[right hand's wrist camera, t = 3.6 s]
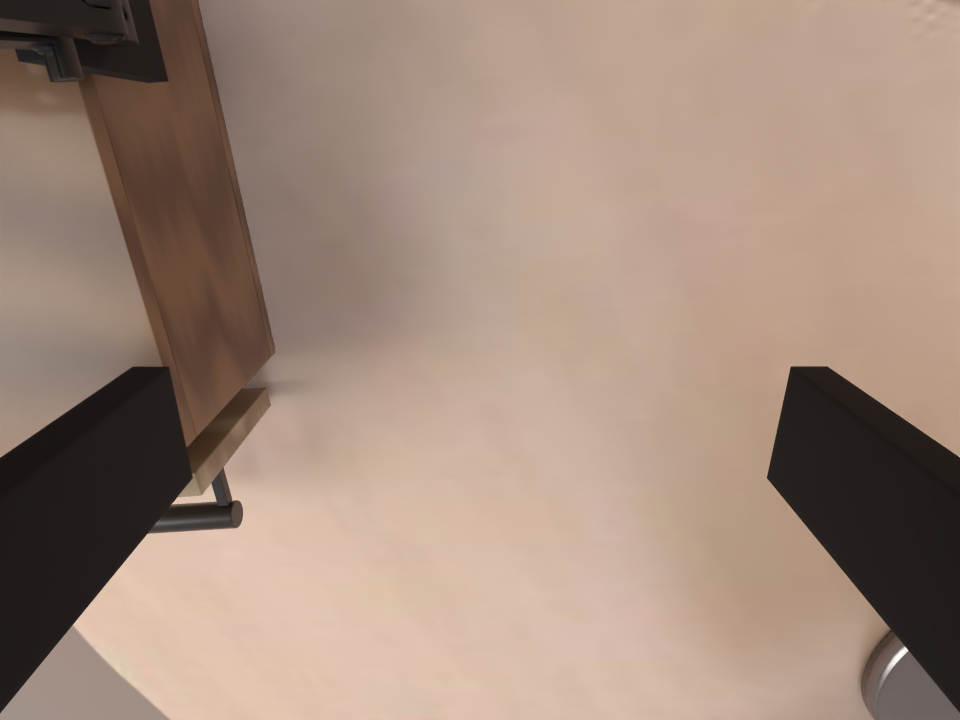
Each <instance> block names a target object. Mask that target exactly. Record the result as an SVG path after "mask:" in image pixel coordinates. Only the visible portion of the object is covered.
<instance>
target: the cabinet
mask: <svg viewBox="0 0 960 720" xmlns="http://www.w3.org/2000/svg"><path fill="white" fill-rule="evenodd" d="M149 2H150V6H151V10H152V14H153V18H154V22H155V26H156V31H157V35H158V39H159V43H160V47H161V51H162V55H163V59H164V63H165V68H166V72H167V76H168V80H169V81H168V82H156V83H145V82H139V81H133V80H127V79H121V78H115V77H109V76H103V75H97V74H91V73H85V72H83V75H84V78H85V79H84V80H81V81H75V82H52V83H50V80H49V77H48V73H47V70H46V67H45V66H43V65H37V64H31V63H25V62H19V61H18V58H17V55H16V52H15V49H0V457H2V456H3V455H5V454H6V453H8V452H9V451H11V450H12V449H13V448H15V447H16V446H18V445H19V444H21V443H22V442H24V441H25V440H27V439H28V438H30V437H31V436H32V435H34V434H35V433H37V432H38V431H40V430H41V429H43V428H44V427H46V426H47V425H48V424H50V423H51V422H53V421H54V420H56V419H57V418H59V417H60V416H62V415H63V414H64V413H66V412H67V411H69V410H70V409H72V408H73V407H75V406H76V405H78V404H79V403H80V402H82V401H83V400H85V399H86V398H88V397H89V396H91V395H92V394H94V393H95V392H96V391H98V390H99V389H101V388H102V387H104V386H105V385H107V384H108V383H110V382H111V381H112V380H114V379H115V378H117V377H118V376H120V375H121V374H123V373H124V372H126V371H127V370H128V369H130V368H131V367H169V368H170V373H171V378H172V382H173V387H174V392H175V396H176V401H177V406H178V410H179V415H180V420H181V424H182V429H183V434H184V438H185V443H186V447H187V446H189V445H190V444H191V443H192V441H193V440H194V439H195V438H196V437H197V436H198V435H199V434H200V433H201V432H202V431H203V429H204V428H205V427H206V426H207V425H208V424H209V423H210V422H211V421H212V420H213V419H214V418H215V417H216V415H217V414H218V413H219V412H220V411H221V410H222V409H223V408H224V407H225V406H226V405H227V404H228V403H229V401H230V400H231V399H232V398H233V397H234V396H235V395H236V394H237V393H238V392H239V391H240V390H241V389H242V387H243V386H244V385H245V384H246V383H247V382H248V381H249V380H250V379H251V378H252V377H253V376H254V375H255V373H256V372H257V371H258V370H259V369H260V368H261V367H262V366H263V365H264V364H265V363H266V362H267V361H268V360H269V358H270V357H271V356H272V355H273V354H274V353H275V348H274V344H273V339H272V335H271V330H270V326H269V321H268V317H267V312H266V308H265V303H264V299H263V294H262V290H261V285H260V281H259V276H258V272H257V267H256V263H255V258H254V254H253V249H252V245H251V240H250V236H249V231H248V227H247V222H246V218H245V213H244V209H243V204H242V200H241V195H240V191H239V186H238V181H237V177H236V172H235V168H234V163H233V159H232V154H231V150H230V145H229V141H228V136H227V132H226V127H225V123H224V118H223V114H222V109H221V105H220V100H219V96H218V91H217V87H216V82H215V78H214V73H213V69H212V64H211V60H210V55H209V51H208V46H207V42H206V37H205V33H204V28H203V24H202V19H201V15H200V10H199V6H198V1H197V0H149Z"/></svg>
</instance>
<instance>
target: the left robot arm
mask: <svg viewBox="0 0 960 720" xmlns="http://www.w3.org/2000/svg"><path fill="white" fill-rule="evenodd" d="M0 49H15V52H16V55H17V58H18V61H19V62H25V63H31V64H37V65H43V66H45V67H46V70H47V73H48V77H49V80H50V83H52V82H75V81H81V80H84V79H85V78H84V75H83V72H85V73H91V74H97V75H103V76H109V77H115V78H121V79H127V80H133V81H139V82H145V83H156V82H168V81H169V80H168V76H167V72H166V68H165V63H164V59H163V55H162V51H161V47H160V43H159V39H158V35H157V31H156V26H155V22H154V18H153V14H152V10H151V6H150V2H149V0H0Z"/></svg>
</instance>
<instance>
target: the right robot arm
mask: <svg viewBox="0 0 960 720" xmlns="http://www.w3.org/2000/svg"><path fill="white" fill-rule="evenodd" d="M192 479H193V476H192V471H191V466H190V462H189V457H188V452H187V448H186V443H185V438H184V434H183V429H182V424H181V420H180V415H179V410H178V406H177V401H176V396H175V392H174V387H173V382H172V378H171V373H170V368H169V367H131V368H130V369H128V370H127V371H126V372H124V373H123V374H121V375H120V376H118V377H117V378H115V379H114V380H112V381H111V382H110V383H108V384H107V385H105V386H104V387H102V388H101V389H99V390H98V391H96V392H95V393H94V394H92V395H91V396H89V397H88V398H86V399H85V400H83V401H82V402H80V403H79V404H78V405H76V406H75V407H73V408H72V409H70V410H69V411H67V412H66V413H64V414H63V415H62V416H60V417H59V418H57V419H56V420H54V421H53V422H51V423H50V424H48V425H47V426H46V427H44V428H43V429H41V430H40V431H38V432H37V433H35V434H34V435H32V436H31V437H30V438H28V439H27V440H25V441H24V442H22V443H21V444H19V445H18V446H16V447H15V448H13V449H12V450H11V451H9V452H8V453H6V454H5V455H3V456H2V457H0V713H1V712H2V710H3V709H4V708H5V707H6V705H7V704H8V703H9V702H10V701H11V699H12V698H13V697H14V696H15V695H16V693H17V692H18V691H19V690H20V688H21V687H22V686H23V685H24V683H25V682H26V681H27V680H28V679H29V677H30V676H31V675H32V674H33V673H34V671H35V670H36V669H37V668H38V666H39V665H40V664H41V663H42V662H43V660H44V659H45V658H46V657H47V655H48V654H49V653H50V652H51V651H52V649H53V648H54V647H55V646H56V644H57V643H58V642H59V641H60V640H61V638H62V637H63V636H64V635H65V634H66V632H67V631H68V630H69V629H70V627H71V626H72V625H73V624H74V623H75V621H76V620H77V619H78V618H79V616H80V615H81V614H82V613H83V612H84V610H85V609H86V608H87V607H88V605H89V604H90V603H91V602H92V601H93V599H94V598H95V597H96V596H97V594H98V593H99V592H100V591H101V590H102V588H103V587H104V586H105V585H106V584H107V582H108V581H109V580H110V579H111V577H112V576H113V575H114V574H115V573H116V571H117V570H118V569H119V568H120V566H121V565H122V564H123V563H124V562H125V560H126V559H127V558H128V557H129V555H130V554H131V553H132V552H133V551H134V549H135V548H136V547H137V546H138V544H139V543H140V542H141V541H142V540H143V538H144V537H145V536H146V535H147V533H148V532H149V531H150V530H151V529H152V527H153V526H154V525H155V524H156V523H157V521H158V520H159V519H160V518H161V516H162V515H163V514H164V513H165V512H166V510H167V509H168V508H169V507H170V505H171V504H172V503H173V502H174V501H175V499H176V498H177V497H178V496H179V494H180V493H181V492H182V491H183V490H184V488H185V487H186V486H187V485H188V483H189V482H190V481H191V480H192ZM767 479H768V480H769V481H770V482H771V483H772V485H773V486H774V487H775V488H776V490H777V491H778V492H779V493H780V494H781V496H782V497H783V498H784V499H785V501H786V502H787V503H788V504H789V505H790V507H791V508H792V509H793V510H794V512H795V513H796V514H797V515H798V516H799V518H800V519H801V520H802V521H803V523H804V524H805V525H806V526H807V527H808V529H809V530H810V531H811V532H812V533H813V535H814V536H815V537H816V538H817V540H818V541H819V542H820V543H821V544H822V546H823V547H824V548H825V549H826V551H827V552H828V553H829V554H830V555H831V557H832V558H833V559H834V560H835V562H836V563H837V564H838V565H839V566H840V568H841V569H842V570H843V571H844V573H845V574H846V575H847V576H848V577H849V579H850V580H851V581H852V582H853V584H854V585H855V586H856V587H857V588H858V590H859V591H860V592H861V593H862V594H863V596H864V597H865V598H866V599H867V601H868V602H869V603H870V604H871V605H872V607H873V608H874V609H875V610H876V612H877V613H878V614H879V615H880V616H881V618H882V619H883V620H884V621H885V623H886V624H887V625H888V626H889V627H890V629H891V630H892V631H891V632H890V633H889V634H888V635H887V636H886V637H885V638H884V639H883V640H882V641H881V643H880V644H879V645H878V646H877V648H876V649H875V651H874V652H873V654H872V655H871V657H870V659H869V661H868V663H867V665H866V668H865V671H864V674H863V679H862V695H863V699H864V702H865V705H866V707H867V709H868V711H869V712H870V714H871V715H872V717H873V718H874V720H960V457H958V456H957V455H955V454H954V453H952V452H951V451H949V450H948V449H947V448H945V447H944V446H942V445H941V444H939V443H938V442H936V441H935V440H933V439H932V438H930V437H929V436H928V435H926V434H925V433H923V432H922V431H920V430H919V429H917V428H916V427H914V426H913V425H912V424H910V423H909V422H907V421H906V420H904V419H903V418H901V417H900V416H898V415H897V414H896V413H894V412H893V411H891V410H890V409H888V408H887V407H885V406H884V405H882V404H881V403H880V402H878V401H877V400H875V399H874V398H872V397H871V396H869V395H868V394H866V393H865V392H864V391H862V390H861V389H859V388H858V387H856V386H855V385H853V384H852V383H850V382H849V381H848V380H846V379H845V378H843V377H842V376H840V375H839V374H837V373H836V372H834V371H833V370H832V369H830V368H829V367H791V368H790V373H789V378H788V382H787V387H786V392H785V396H784V401H783V406H782V410H781V415H780V420H779V424H778V429H777V434H776V438H775V443H774V448H773V452H772V457H771V462H770V466H769V471H768V476H767Z"/></svg>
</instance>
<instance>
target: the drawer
mask: <svg viewBox="0 0 960 720" xmlns="http://www.w3.org/2000/svg"><path fill="white" fill-rule="evenodd" d="M270 405H271V404H270V400H269V396H268V391H267V388H254V389H241V390H240V391H239V392H238V393H237V394H236V395H235V396H234V397H233V398H232V399H231V400H230V401H229V403H228V404H227V405H226V406H225V407H224V408H223V409H222V410H221V411H220V412H219V413H218V414H217V415H216V417H215V418H214V419H213V420H212V421H211V422H210V423H209V424H208V425H207V426H206V427H205V428H204V429H203V431H202V432H201V433H200V434H199V435H198V436H197V437H196V438H195V439H194V440H193V441H192V443H191V444H190V445H189V446H187V447H186V448H187V452H188V457H189V462H190V466H191V471H192V476H193V479H192V480H191V481H190V482H189V483H188V485H187V486H186V487H185V488H184V490H183V491H182V492H181V493H180V494H179V496H178V497H186V496H201V495H202V494H203V493H204V492H205V490H206V489H207V488H208V486H209V485H210V484H211V483H212V486H213V490H214V493H215V497H216V500H217V502H204V503H189V504H173V505H170V507H169V508H168V509H167V510H166V512H165V513H164V514H163V515H162V516H161V518H160V519H159V520H158V521H157V523H156V524H155V525H154V526H153V527H152V529H151V530H150V531H149V532H148V533H147V534H150V533H166V532H182V531H198V530H214V529H229V528H237V527H239V526H240V524H241V522H242V518H243V508H242V504H241V502H240V501H238V500H235V501H232V497H231V493H230V490H229V486H228V483H227V479H226V475H225V472H224V468H223V467H224V466H225V464H226V463H227V462H228V460H229V459H230V458H231V456H232V455H233V454H234V453H235V451H236V450H237V449H238V447H239V446H240V445H241V443H242V442H243V441H244V440H245V438H246V437H247V436H248V434H249V433H250V432H251V430H252V429H253V428H254V426H255V425H256V424H257V423H258V421H259V420H260V419H261V417H262V416H263V415H264V413H265V412H266V411H267V409H268V408H269V407H270Z"/></svg>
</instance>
